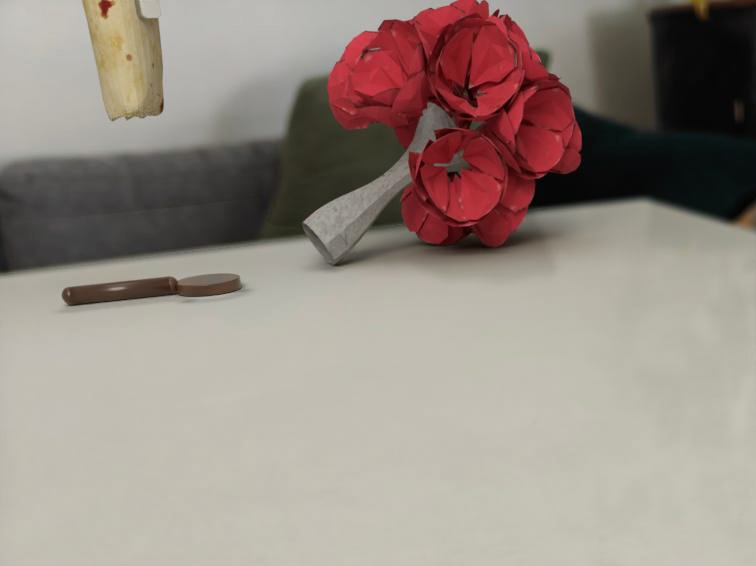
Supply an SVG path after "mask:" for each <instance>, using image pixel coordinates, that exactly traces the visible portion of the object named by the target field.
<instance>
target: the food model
mask: <svg viewBox="0 0 756 566" xmlns="http://www.w3.org/2000/svg"><path fill="white" fill-rule="evenodd" d="M81 1H82V2H81V3H82V6H83V10H84V15H85V18H86V23H87V27H88V32H89V37H90V38H89V39H90V42H91V47H92V52H93V56H94V61H95V66H96V72H97V77H98V82H99V86H100V91H101V97H102V101H103V105H104V109H105V113H106V115H107V117H108V120H109V121H111V122H115V121H117V120H118V119H121V118H123V117H124V119H125V120H126V121H129V120H130V119H132V118H139V119H145V118H146V117H158V116H159V115H161V114H162V113H163V111H164V108H165V99H164V85H163V82H164V81H163V77H164V65H163V64H164V63H163V51H162V39H161V31H160V19H159V18H153V19H140V18H139V17H138V16H137V13H136V7H135V2H134V0H81Z"/></svg>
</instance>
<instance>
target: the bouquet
mask: <svg viewBox="0 0 756 566" xmlns="http://www.w3.org/2000/svg"><path fill="white" fill-rule="evenodd" d="M500 11H501V10H500V8H497V9H496V10H494V12H492V13H491V15H490V3H488V1H487V0H481V1H480V3H479V2H478V0H455V1H453V2H450V3H449V5H444V6H438V7H436V8H433V7H427V8H426V9H423V10H420V11H419V12H418V13H417V14H416V15H414V16H413V18H411V19H407V20H401V19H398V18H394V19H391V18H390V19H383V20H382V22H381V23H380V25H379V26H378V28H377V31H376V30H364V31H362V32H360V33H359V34H357V35H356V36H354V37H353V38H352V39H351V40H350V41H349V43H348V44H347V45H346V46H345V49H344V51H343V53H342V55H341V56H340V58H339V60H338V61H336V62H335V64H334V65H333V67H332V69H331V71H330V73H329V76H328V80H327V84H326V90H327V97H328V102H329V108H330V109H331V112H332V114H333V116H334V119H335V120H336V122H338V124H340V125H341V126H342V127H343V128H344V129H345V130H361V129H367V128H368V127H369V125H370V124H379V123H381V124H383V125H386V126H388V127H390V128H392V129H393V132H394V134H395V137H396V139H397V141H398V143H399V144H401V146H402V147H403V148H404V149H405V150H406V151H405V152H404V153H403V155H401V157H400V158H399V159H398V160H397V162H395V163H394V164H393V165H392V166H391V167H390V168H389V169H388V170H387V171H386V172H384V173H383V174H382V175H381V176H379V177H377V178H375V180H372V181H371V182H369V183H367V184H365V185H363V186H360V187H359V188H357V189H355V190H352V191H350V192H348V193H345V194H343V195H341V196H339V197H337V198H335V199H333V200H331V201H329V202H327V203H326V204H324V205H322V206H321V207H319V208H318V209H316V210H315V211H314V212H312V213H311V214H310V215H308V217H306V218H305V219H304V220H303V221H302V223H301V226H302V229H303V231H304V233H305V235H306V236H307V238H308V239H309V241H310V243H311V244H312V245H313V246H314V248H315V249H316V251H317V252H318V253H319V254H320V256H322V258H323V259H325V260H326V261H327V262H328V263H329V264H331V265H332V266H335V265H336V264H337V263H339V262H340V261H342V260H343V259H344V258H345V257H346V256H347V255H348V254H350V253H351V251H352V250H353V249H354V248H355V247H356V246H357V244H359V243H360V241H361V240H362V239H363V238H364V236H365V235H366V234H367V232H368V231H369V229H370V228H371V226H372V225H373V224H374V223H375V222H376V221H377V218H378V217H379V216H380V215H381V213H383V211H384V209H385V208H386V207H387V206H388V205H389V204H390V203H391V202H392V200H394V198H396V197H397V196H398V195H399V194H400V193H402V192H403V193H402V195H401V197H400V199H399V202H401V211H400V214H401V217H402V220H403V222H404V225H405V226H406V228H407V229H408V231H409V232H410V233H415V235H416V236H417V238H418V239H420V240H422V241H423V242H426V243H428V244H432V245H438V246H445V245H447V246H448V245H454V244H455V243H457V242H459V241H463V240H465V239H466V238H467V237H468V236H470V235H471V234H473V235H475V237H476V238H477V239H479V240H480V241H481V242H482V244H483V246H486V247H490V248H493V249H495V248H497V247H499V246H501V245H503V244H504V243H505V242H506V241H507V240H508V238H509V237H510V234H512V233H515V232H516V231H517V230H518V228H519V227H520V226H521V224H522V223H523V222H524V219H525V217H526V215H527V213H528V209H529V206H530V204H531V202H532V200H533V198H534V196H535V194H536V190H535V189H536V183H537V182H536V181H535V180H536V179H540V178H542V177H544V176H546V175H548V174H549V173H556V174H562V175H568V174H570V173H573V172H575V171H577V170H578V169H579V166H580V164H581V162H582V161H581V160H582V155H581V154H580V152H581V150H582V149H583V142H582V140H583V139H582V132H581V129H580V126H579V123H578V121H577V119H576V115H575V112H574V106H573V102H572V100H573V97H572V95H571V92H570V88H569V87H568V86H566V85H565V84H564V83H562V82H561V81H560V80H561V79H562V78H563V77H558V76H557V75H556V74H555V73H551V72H549V71H548V70H547V68H545V66H544V65H543V63H542V60H541V58H540V56H539V55H538V54H537V52H536V51H535V50H534V49H533V48H532V46H530V42H529V40H528V38H527V36H526V34H525V32H524V30H523V29H522V28H521V27H520V25H518V24H517V22H516V21H515V20H512V17H511V16H510V15H509V14H507V13H506V14H500ZM466 94H467V95H466ZM479 94H482V95H479ZM453 119H454V120H453ZM472 122H479V123H481V124H479V125H478V126H477V127H476V128H475V129H470V128H471V126H472ZM459 172H460V173H459Z"/></svg>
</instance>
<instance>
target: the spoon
mask: <svg viewBox="0 0 756 566" xmlns="http://www.w3.org/2000/svg"><path fill="white" fill-rule="evenodd" d="M240 289H242V280H241V275H239V274H236V273H229V272H228V273H227V272H225V273H222V272H221V273H220V272H218V273H206V274H198V275H193V276H187V277H184V278H180V279H179V280H178V279H177V278H175V277H173V276H169V275H168V276H160V277H150V278H149V277H148V278H140V279H130V280H120V281H110V282H102V283H93V284H84V285H82V284H81V285H72V286H66V287H65V288H64V289H62V291H61V299H62V300H63V302H64V303H65V304H67V305H69V306H75V305H85V304H93V303H100V302H101V303H103V302H112V301H122V300H130V299H132V300H133V299H141V298H149V297H159V296H169V295H174V294H177V295H179V296H182V297H209V296H217V295H224V294H227V293H233V292H236V291H237V290H240Z"/></svg>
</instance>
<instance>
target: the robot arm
mask: <svg viewBox="0 0 756 566" xmlns="http://www.w3.org/2000/svg"><path fill="white" fill-rule="evenodd" d="M134 2H135V7H136V13H137V16H138V17H139V18H140V19H153V18H158V19H159V18H160V17H161V16H162V9H161V4H160V0H134Z"/></svg>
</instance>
